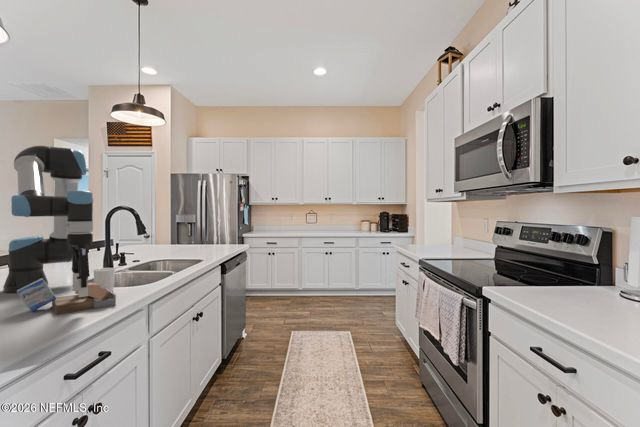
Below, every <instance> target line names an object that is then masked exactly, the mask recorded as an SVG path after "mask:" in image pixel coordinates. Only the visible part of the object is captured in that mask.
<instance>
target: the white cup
mask: <svg viewBox="0 0 640 427" xmlns="http://www.w3.org/2000/svg"><path fill="white" fill-rule="evenodd" d="M115 273H116V268H115V267H102V268H101V267H99V268H95V269H93V283H95V284H99V285H100V287H101V288H103V289H105V288H107V289H109V290H110V291H113V292H114V290H115V289H114V285H115V277H116V276H115V275H116V274H115Z"/></svg>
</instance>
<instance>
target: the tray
mask: <svg viewBox="0 0 640 427" xmlns="http://www.w3.org/2000/svg"><path fill="white" fill-rule="evenodd" d="M105 289H106V290H108V291H110V290H109V289H107V288H105ZM110 292H111V293H110V295H109V296H108V298H107V299H106V300H97V299H95V298H92V297H90V298H92V299H93V309H100V308H107V307H111V306H116V303H117V302H116V301H117V297H116V296H117V295H116V293H114V291H113V292H112V291H110Z"/></svg>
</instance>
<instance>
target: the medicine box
mask: <svg viewBox="0 0 640 427" xmlns="http://www.w3.org/2000/svg"><path fill="white" fill-rule="evenodd" d="M16 293H17V294H18V296H19V297H20V298H21V300H22V301H23V303H24V304H25V305H26V308H28V310H30V312H35V311H36V310H39V309H41V308H42V307H45V306H46V305H47V304H49V303H52V301H53V300H55V299H56V298H57V297H56V295H55V293H54V292H53V291H52V289H51V288H50V286H49V284H48V285H47V283H46V282H45V281H44V279H43V278H41V279H39V280H37V281H35V282H33V283H31V284H29V285H27V286H25V287H23V288H21V289H18V290H17V292H16Z"/></svg>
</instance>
